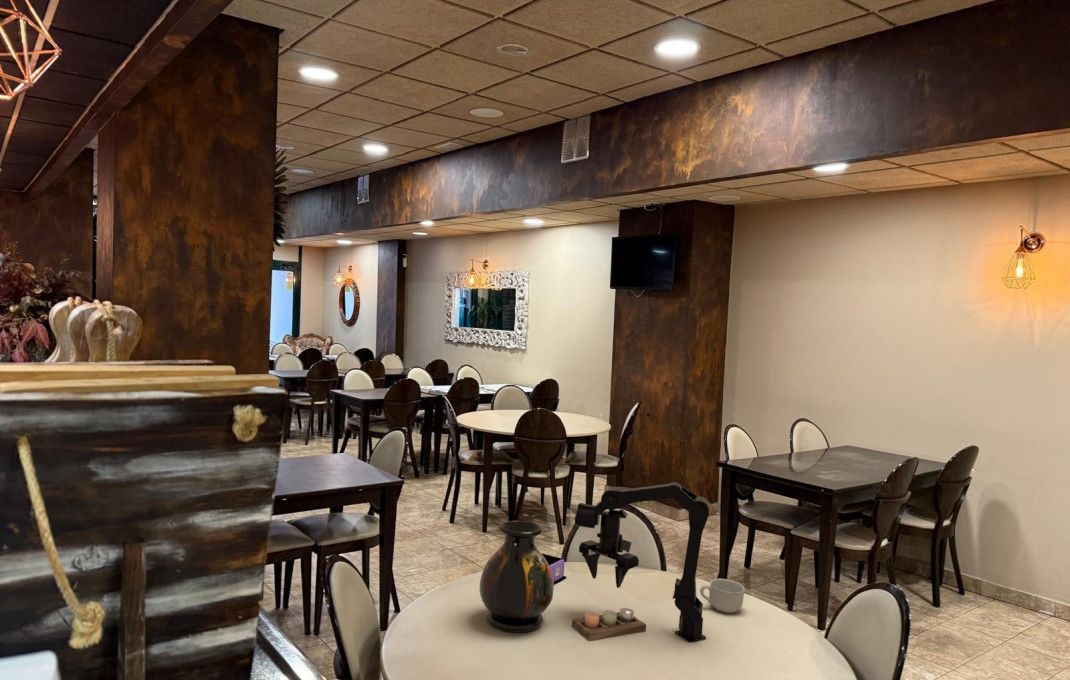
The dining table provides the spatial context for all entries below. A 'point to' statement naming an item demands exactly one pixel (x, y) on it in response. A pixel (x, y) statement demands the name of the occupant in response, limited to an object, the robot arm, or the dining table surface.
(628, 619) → the grey button
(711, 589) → the teacup
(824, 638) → the dining table surface
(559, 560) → the dollhouse room
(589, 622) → the terracotta button
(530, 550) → the amphora vase
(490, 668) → the dining table surface
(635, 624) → the button panel
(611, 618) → the sage button
